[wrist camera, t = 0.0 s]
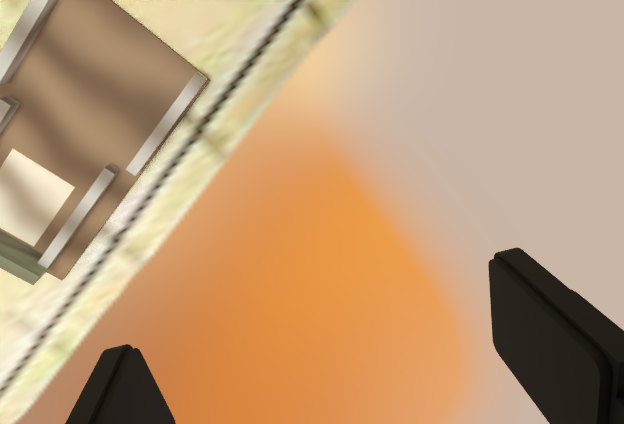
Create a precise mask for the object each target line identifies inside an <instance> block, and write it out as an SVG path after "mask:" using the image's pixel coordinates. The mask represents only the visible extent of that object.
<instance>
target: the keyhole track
mask: <svg viewBox="0 0 624 424" xmlns="http://www.w3.org/2000/svg"><path fill="white" fill-rule="evenodd" d="M209 81H210V80H209V79H208V78H207V77H206V76H204V75H203V74H202V73H201V72H199V71H198V70H197V69H196V68H195V67H193V66H192V65H191V64H190V63H188V62H187V61H186V60H185V59H183V58H182V57H181V56H180V55H178V54H177V53H176V52H175V51H173V50H172V49H171V48H170V47H168V46H167V45H166V44H165V43H164V42H162V41H161V40H160V39H159V38H157V37H156V36H155V35H154V34H152V33H151V32H150V31H149V30H147V29H146V28H145V27H144V26H142V25H141V24H140V23H139V22H137V21H136V20H135V19H134V18H132V17H131V16H130V15H129V14H128V13H126V12H125V11H124V10H123V9H121V8H120V7H119V6H118V5H116V4H115V3H114V2H113V1H111V0H30V2H29V3H28V5H27V7H26V9H25V10H24V12H23V14H22V15H21V17H20V19H19V21H18V22H17V24H16V26H15V28H14V29H13V31H12V33H11V34H10V36H9V38H8V40H7V41H6V43H5V45H4V47H3V48H2V50H1V52H0V268H2V269H3V270H5V271H7V272H9V273H11V274H13V275H15V276H17V277H19V278H21V279H22V280H24V281H26V282H28V283H30V284H32V285H34V284H35V283H36V282H37V281H38V280H39V279H40V278H41V276H42V275H43V274H44V273H45V272H47V273H49V274H51V275H53V276H55V277H57V278H59V279H60V280H63V279H64V278H65V276H66V275H67V273H68V272H69V271H70V269H71V268H72V267H73V265H74V264H75V263H76V261H77V260H78V259H79V257H80V256H81V255H82V253H83V252H84V250H85V249H86V248H87V246H88V245H89V244H90V242H91V241H92V240H93V238H94V237H95V236H96V234H97V233H98V231H99V230H100V229H101V227H102V226H103V225H104V223H105V222H106V221H107V219H108V218H109V217H110V215H111V214H112V212H113V211H114V210H115V208H116V207H117V206H118V204H119V203H120V202H121V200H122V199H123V198H124V196H125V195H126V193H127V192H128V191H129V189H130V188H131V187H132V185H133V184H134V183H135V181H136V180H137V179H138V177H139V176H140V174H141V173H142V172H143V170H144V169H145V168H146V166H147V165H148V164H149V162H150V161H151V160H152V158H153V157H154V155H155V154H156V153H157V151H158V150H159V149H160V147H161V146H162V145H163V143H164V142H165V141H166V139H167V138H168V137H169V135H170V134H171V132H172V131H173V130H174V128H175V127H176V126H177V124H178V123H179V122H180V120H181V119H182V118H183V116H184V115H185V113H186V112H187V111H188V109H189V108H190V107H191V105H192V104H193V103H194V101H195V100H196V99H197V97H198V96H199V94H200V93H201V92H202V90H203V89H204V88H205V86H206V85H207V84H208V82H209Z"/></svg>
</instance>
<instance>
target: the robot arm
mask: <svg viewBox="0 0 624 424" xmlns="http://www.w3.org/2000/svg"><path fill="white" fill-rule="evenodd" d="M489 281H490V297H491V317H492V334H493V343H494V346H495V349H496V351H497V352H498V354H499V356H500V357H501V358H502V360H503V361H504V362H505V364H506V365H507V366H508V368H509V369H510V370H511V372H512V373H513V374H514V376H515V377H516V379H517V380H518V381H519V383H520V384H521V385H522V386H523V388H524V389H525V391H526V392H527V393H528V395H529V396H530V398H531V399H532V400H533V402H534V403H535V404H536V406H537V407H538V408H539V410H540V411H541V412H542V414H543V415H544V417H545V418H546V419H547V421H548V422H549V423H550V424H624V331H623V330H622V329H621V328H619V327H618V326H617V325H616V324H615V323H613V322H612V321H611V320H610V319H609V318H607V317H606V316H605V315H604V314H602V313H601V312H600V311H599V310H597V309H596V308H595V307H594V306H593V305H591V304H590V303H589V302H588V301H586V300H585V299H584V298H583V297H582V296H580V295H579V294H578V293H576V292H574V291H573V290H570V289H569V288H568V287H567V286H565V285H564V284H563V283H562V282H561V281H559V280H558V279H557V278H556V277H555V276H553V275H552V274H551V273H550V272H548V271H547V270H546V269H545V268H544V267H542V266H541V265H540V264H539V263H537V262H536V261H535V260H534V259H533V258H531V257H530V256H529V255H528V254H527V253H525V252H524V251H523V250H521V249H520V248H513V249H509V250H505V251H501V252H498V253H496V254H495V255H494V259H492V260H490V261H489ZM65 424H175V420H174V417H173V415H172V413H171V411H170V410H169V407H168V406H167V403H166V401H165V399H164V398H163V396H162V394H161V392H160V390H159V388H158V386H157V384H156V382H155V380H154V378H153V376H152V374H151V372H150V370H149V368H148V366H147V364H146V362H145V360H144V358H143V356H142V354H141V352H140V350H139V349H137V348H134V349H133V348H132V347H131V346H130V345H128V344H126V345H122V346H118V347H114V348H110V349H106V350H104V351H103V353H102V354H101V356H100V358H99V360H98V362H97V364H96V366H95V368H94V370H93V372H92V373H91V376H90V377H89V379H88V381H87V383H86V385H85V387H84V389H83V391H82V393H81V395H80V396H79V399H78V400H77V402H76V404H75V406H74V408H73V410H72V412H71V414H70V416H69V418H68V420H67V422H66V423H65Z"/></svg>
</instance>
